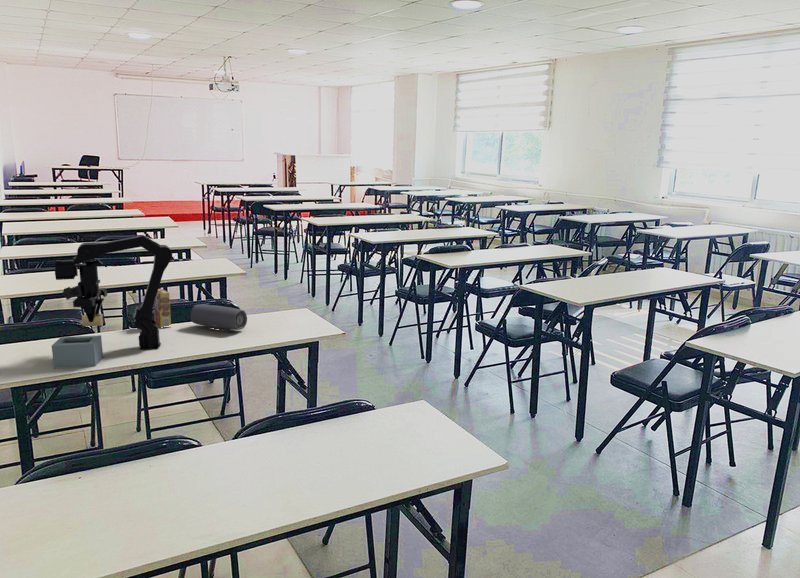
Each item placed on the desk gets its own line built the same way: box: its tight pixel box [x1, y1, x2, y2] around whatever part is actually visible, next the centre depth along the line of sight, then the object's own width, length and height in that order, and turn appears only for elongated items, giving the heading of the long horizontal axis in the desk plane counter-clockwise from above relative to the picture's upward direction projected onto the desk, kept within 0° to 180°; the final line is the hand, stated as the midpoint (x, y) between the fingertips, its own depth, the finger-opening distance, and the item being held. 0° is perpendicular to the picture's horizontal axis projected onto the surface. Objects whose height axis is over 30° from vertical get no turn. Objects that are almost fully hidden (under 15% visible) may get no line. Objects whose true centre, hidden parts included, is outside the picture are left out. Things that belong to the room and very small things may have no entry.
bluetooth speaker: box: [189, 303, 248, 332], centre depth 251 cm, size 23×9×10 cm, turn 68°
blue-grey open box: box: [51, 334, 104, 369], centre depth 209 cm, size 13×10×8 cm
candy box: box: [153, 288, 172, 328], centre depth 255 cm, size 9×4×15 cm, turn 39°
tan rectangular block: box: [81, 313, 104, 327], centre depth 218 cm, size 6×4×4 cm, turn 102°
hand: (92, 320), depth 218 cm, fingers closed on tan rectangular block, 3 cm apart
